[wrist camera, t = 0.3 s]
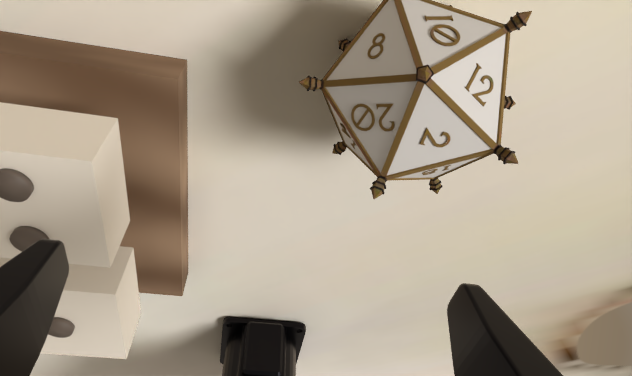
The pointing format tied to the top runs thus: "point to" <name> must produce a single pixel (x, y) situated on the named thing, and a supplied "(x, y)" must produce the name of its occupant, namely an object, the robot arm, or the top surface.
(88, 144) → the tile two
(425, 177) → the game die
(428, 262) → the top surface
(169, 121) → the brown flat slab
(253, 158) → the top surface
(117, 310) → the tile one
